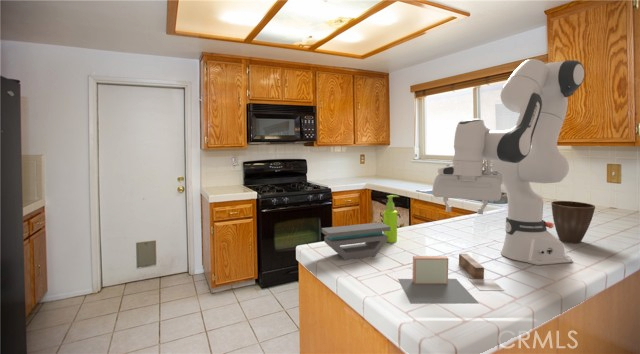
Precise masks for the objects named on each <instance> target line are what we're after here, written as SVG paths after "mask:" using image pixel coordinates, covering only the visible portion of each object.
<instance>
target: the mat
mask: <svg viewBox="0 0 640 354" xmlns="http://www.w3.org/2000/svg"><path fill="white" fill-rule="evenodd" d="M397 281H398V282H399V284H400V286H401V288H402V289H403V292H404V293H405V295H406V298H407V299H408V301H409V303H410V305H412V304H415V305H416V304H418V305H419V304H425V305H426V304H479V301H478V300H477V299H476V298H475V297H474V296H473V295H472V294H471V293H470V292H469V290H467V289H466V288H465V287H464V285H463V284H462V283H460V281H459V280H458V279H457V278H448V284H414V283H413V282H412V278H397Z"/></svg>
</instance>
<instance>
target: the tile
mask: <svg viewBox="0 0 640 354" xmlns="http://www.w3.org/2000/svg"><path fill="white" fill-rule="evenodd" d="M411 279H412V282H413V283H414V284H448V279H449V257H448V256H447V255H413V256H412V277H411Z"/></svg>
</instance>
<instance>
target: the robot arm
mask: <svg viewBox="0 0 640 354" xmlns="http://www.w3.org/2000/svg"><path fill="white" fill-rule="evenodd" d="M585 74H586V73H585V67H584V65H583V64H582V62H580V61H579V60H574V59H573V60H572V59H569V60H568V59H567V60H564V61H552V62H547V63H545V62H543V60H539V59H534V58H530V59H527V60H525V61H523V62H522V63H520V65H519V66H518V67H517V68H515V70H514V71H513V72H512V73H511V75H510V76H509V78H508V79H507V80H506V82H505V83H504V85H503V87H502V88H501V92H500V100H501V103H502V104H503V106H504V107H506V109H508V110H509V111H511V112H513V113H517V114H519V115H518V119H517V121H516V124H515V126H513V127H512V128H509V129H504V130H503V129H502V130H501V129H500V130H491V129H489V128H488V127H487V126H486V125H485V122H484V121H485V120H484V119H481V118H471V119H470V118H469V119H464V120H460V121H459V122H458V123H457V125H456V129H455V132H454V133H455V134H454V139H453V141H454V143H453V150H454V155H453V158H452V163H451V164H447V165H444V166H440V167H438V168H437V173H438V174H437V175H436V176H435V178H434V181H433V185H432V193H431V194H432V196H433V197H434V198H442V200H443V201H442V202H443V203H444V205H445V212H447V213H452V206H451V205H449V203H448V202H449V199H461V200H475V201H481V203H482V205H481V206H480V207H477V212H476V213H477V215H484V210H485V209H486V207H487V206H488V205H489V201H491V202H499V201H500V200H501V199H502V186H501V185H503V187H504V189H505V193H506V196H507V198H506V199H507V216H506V217H505V238H504V243H503V246H502V249H501V251H500V254H501V255H502V256H504V257H506V258H508V259H510V260H514V261H519V262H522V263H523V262H524V263H527V264H531V265H536V266H540V265H553V264H563V263H564V264H566V263H573V258H572V257H571V256H570V255H569V254H567V253H565V251H566V250H565V246H564V245H565V244H564V243H563V241H561V240H559V238H558V237H556V236H555V235H554V234H552V232H550V231H548V228H549V229H553V228H555V224H554V222H550V221H545V220H544V219H543V216H544V215H543V214H544V200H543V198H542V196H541V195H540V194H538V193H537V192H536V191H534V190H533V189H532V187H531V184H530V183H537V184H553V183H560V182H563V180H565V178H566V177H567V175H568V174H569V170H570V165H569V161H568V159H567V158H566V157H565V156H564V155H563V154H562V153H561V152H560V150H559V149H558V148H559V147H558V139H559V138H560V137H559V136H560V133H561V131H562V128H563V125H564V122H565V119H566V115H567V111H568V105H569V104H568V103H569V100H568V98H569V97H571V96H573V95H574V94H575V92H576V91H577V90H579V88H580V87H581V85H582V83H584V80H585V76H586V75H585ZM484 161H491V170H492V171H490V170H483V168H484Z"/></svg>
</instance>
